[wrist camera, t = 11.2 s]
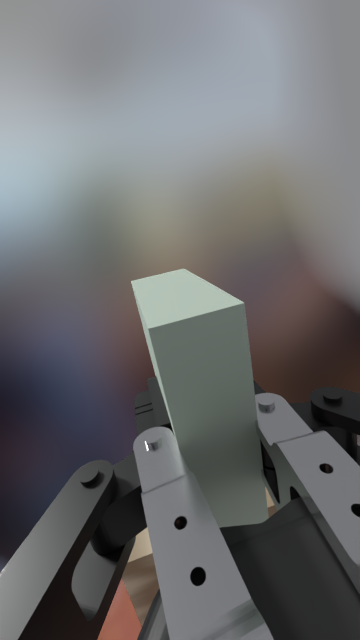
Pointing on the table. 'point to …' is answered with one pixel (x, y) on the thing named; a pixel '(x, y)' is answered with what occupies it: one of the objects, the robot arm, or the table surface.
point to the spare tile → (207, 388)
